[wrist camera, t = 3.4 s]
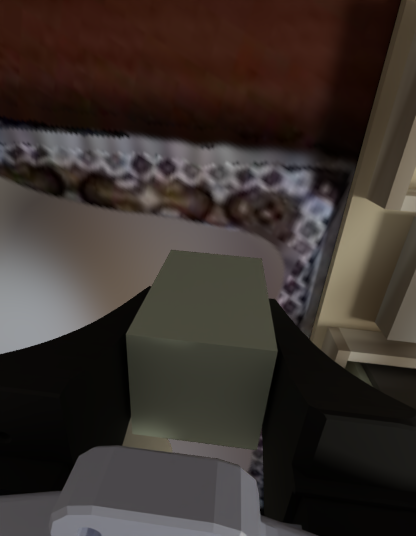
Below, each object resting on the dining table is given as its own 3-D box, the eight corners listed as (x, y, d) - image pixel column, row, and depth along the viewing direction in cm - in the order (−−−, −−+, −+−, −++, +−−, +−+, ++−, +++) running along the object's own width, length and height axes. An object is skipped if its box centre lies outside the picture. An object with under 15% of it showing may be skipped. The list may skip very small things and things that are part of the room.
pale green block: (261, 258, 13) (277, 351, 8) (249, 338, 15) (255, 458, 10) (171, 249, 13) (125, 334, 8) (170, 330, 15) (132, 442, 10)
